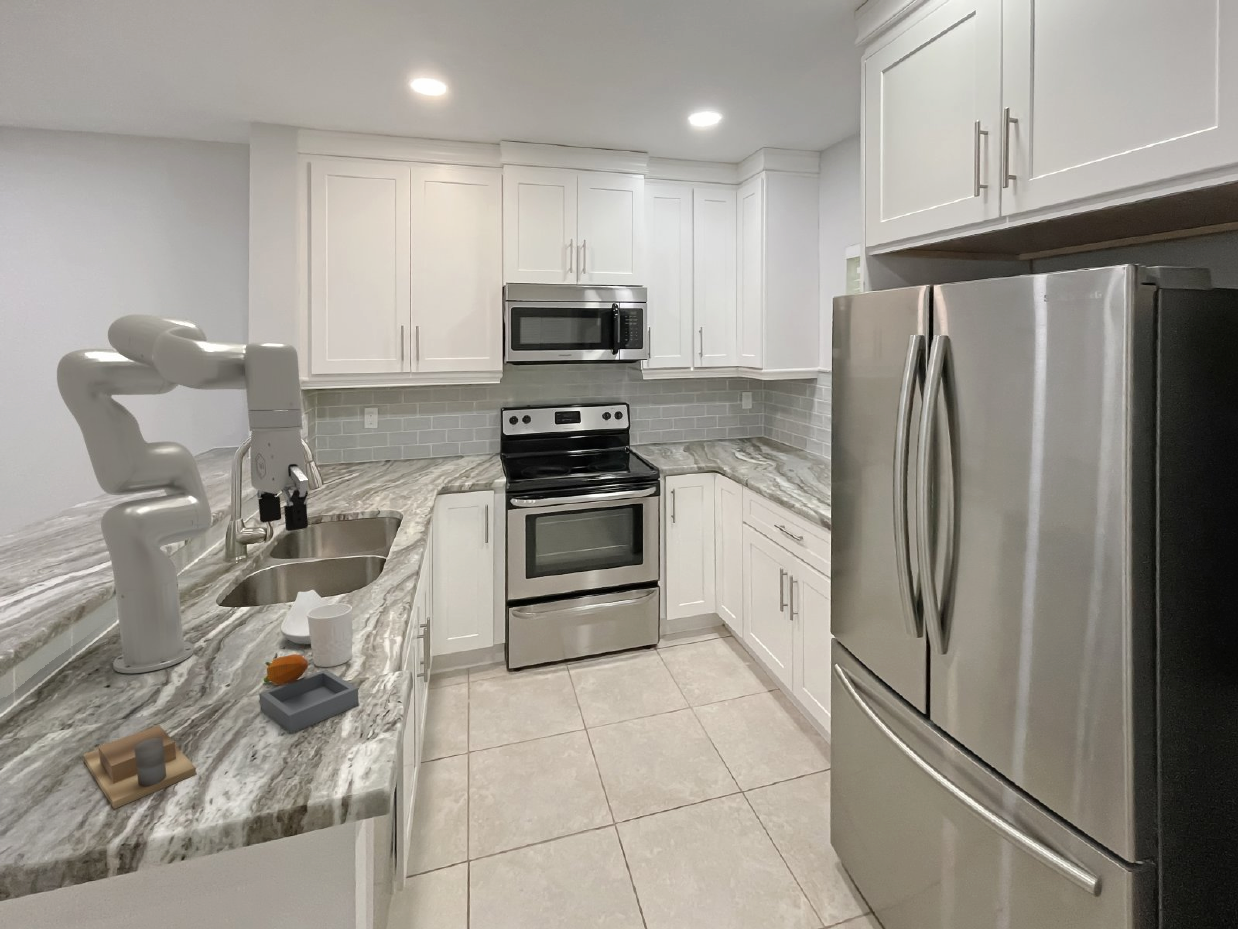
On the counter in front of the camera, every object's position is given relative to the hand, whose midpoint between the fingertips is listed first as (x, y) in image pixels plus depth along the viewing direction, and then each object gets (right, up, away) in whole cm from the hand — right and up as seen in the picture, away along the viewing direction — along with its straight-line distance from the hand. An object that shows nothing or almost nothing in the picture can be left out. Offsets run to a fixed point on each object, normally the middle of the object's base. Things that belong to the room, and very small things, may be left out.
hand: (283, 525), depth 101 cm
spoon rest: (-13, -27, +34) cm, 45 cm away
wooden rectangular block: (-12, -32, -15) cm, 37 cm away
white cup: (-1, -28, +19) cm, 34 cm away
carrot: (+3, -23, +1) cm, 23 cm away
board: (-12, -33, -15) cm, 38 cm away
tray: (+4, -30, +1) cm, 31 cm away
